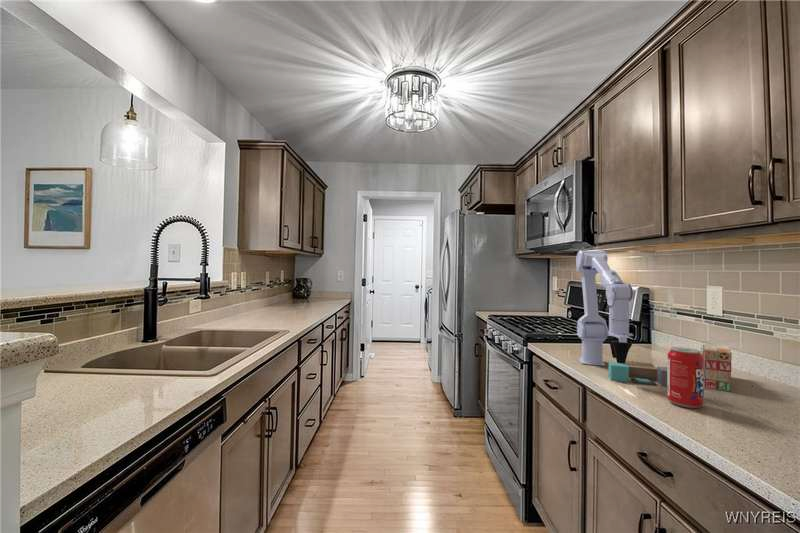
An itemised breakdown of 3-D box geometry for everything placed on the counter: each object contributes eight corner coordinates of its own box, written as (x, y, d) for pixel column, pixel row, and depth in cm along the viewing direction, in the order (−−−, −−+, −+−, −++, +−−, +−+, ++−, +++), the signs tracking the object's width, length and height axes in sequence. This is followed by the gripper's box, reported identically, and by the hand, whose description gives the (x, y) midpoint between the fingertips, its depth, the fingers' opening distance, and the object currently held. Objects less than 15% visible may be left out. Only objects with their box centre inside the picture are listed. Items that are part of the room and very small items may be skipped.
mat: (630, 378, 122) (630, 376, 122) (651, 380, 120) (651, 378, 120) (634, 383, 117) (634, 381, 117) (656, 385, 114) (656, 384, 114)
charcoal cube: (657, 381, 119) (657, 366, 119) (675, 383, 117) (675, 368, 117) (661, 386, 114) (661, 370, 114) (680, 388, 112) (681, 372, 112)
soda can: (660, 398, 102) (660, 346, 103) (687, 399, 102) (688, 346, 103) (681, 409, 95) (682, 352, 95) (711, 410, 95) (712, 352, 95)
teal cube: (608, 376, 124) (608, 361, 124) (625, 378, 122) (625, 363, 122) (611, 380, 119) (611, 365, 119) (628, 382, 118) (628, 367, 118)
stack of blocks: (700, 373, 130) (701, 338, 130) (724, 376, 126) (724, 341, 126) (704, 388, 113) (704, 348, 113) (731, 392, 109) (731, 351, 109)
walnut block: (621, 371, 131) (621, 360, 131) (650, 374, 128) (650, 363, 128) (625, 378, 123) (626, 366, 123) (657, 381, 120) (657, 369, 120)
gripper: (638, 323, 113) (638, 367, 113) (628, 317, 126) (627, 356, 126) (612, 321, 115) (612, 364, 115) (605, 316, 129) (604, 354, 129)
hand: (618, 360), depth 121 cm, fingers open, 7 cm apart
